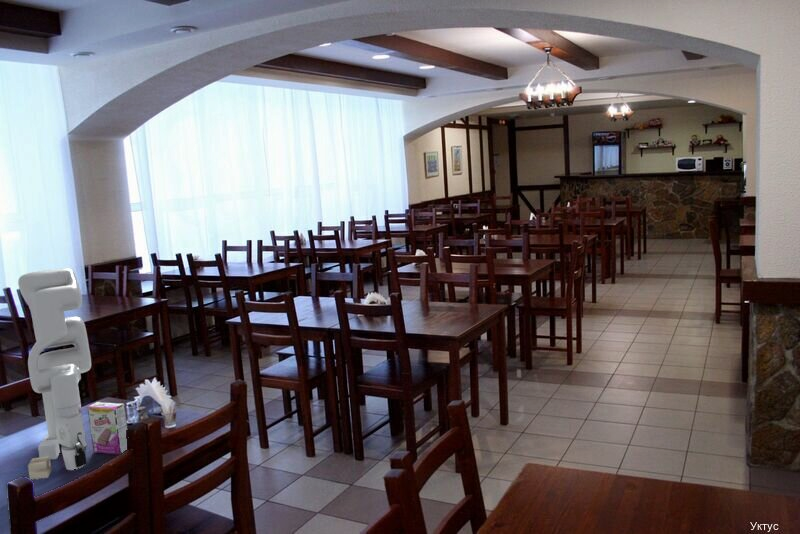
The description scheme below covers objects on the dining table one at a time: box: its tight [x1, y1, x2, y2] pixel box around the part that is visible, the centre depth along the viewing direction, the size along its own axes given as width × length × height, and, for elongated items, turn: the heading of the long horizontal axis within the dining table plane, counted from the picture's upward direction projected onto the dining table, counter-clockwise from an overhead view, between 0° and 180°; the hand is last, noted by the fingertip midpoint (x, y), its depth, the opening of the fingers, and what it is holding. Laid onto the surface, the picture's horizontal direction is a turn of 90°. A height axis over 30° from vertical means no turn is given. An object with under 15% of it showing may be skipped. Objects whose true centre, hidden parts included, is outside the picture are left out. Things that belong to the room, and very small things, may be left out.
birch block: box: [27, 456, 52, 481], centre depth 207 cm, size 5×5×5 cm
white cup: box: [60, 442, 85, 471], centre depth 212 cm, size 7×7×7 cm
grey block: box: [37, 439, 61, 460], centre depth 221 cm, size 5×5×5 cm
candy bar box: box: [87, 401, 128, 456], centre depth 221 cm, size 11×5×16 cm, turn 74°
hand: (75, 462), depth 213 cm, fingers closed on white cup, 6 cm apart
